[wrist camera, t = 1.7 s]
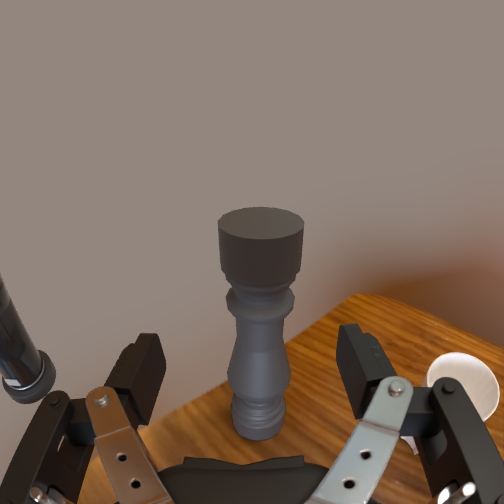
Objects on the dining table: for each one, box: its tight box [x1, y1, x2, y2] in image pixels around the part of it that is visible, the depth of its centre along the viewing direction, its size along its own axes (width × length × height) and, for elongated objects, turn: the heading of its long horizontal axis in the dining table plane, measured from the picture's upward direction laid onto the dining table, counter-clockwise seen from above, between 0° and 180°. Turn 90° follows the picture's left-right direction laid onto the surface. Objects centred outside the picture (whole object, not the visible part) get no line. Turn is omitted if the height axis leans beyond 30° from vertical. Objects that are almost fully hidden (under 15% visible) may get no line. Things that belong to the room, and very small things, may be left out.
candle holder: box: [218, 207, 304, 441], centre depth 25 cm, size 6×6×25 cm
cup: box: [400, 352, 500, 455], centre depth 23 cm, size 10×10×10 cm
